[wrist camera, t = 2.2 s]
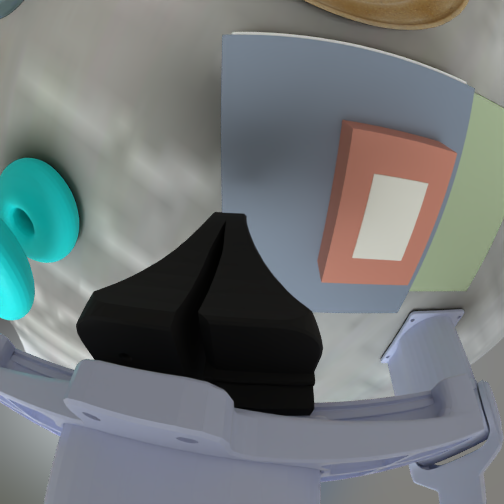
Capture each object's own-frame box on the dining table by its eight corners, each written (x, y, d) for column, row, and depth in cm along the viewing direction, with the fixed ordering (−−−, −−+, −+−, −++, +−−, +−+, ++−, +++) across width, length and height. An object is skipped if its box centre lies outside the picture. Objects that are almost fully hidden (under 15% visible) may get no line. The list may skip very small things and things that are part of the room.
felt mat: (464, 288, 23) (466, 291, 23) (393, 287, 23) (394, 290, 23) (528, 124, 12) (531, 126, 12) (455, 84, 12) (458, 85, 12)
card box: (398, 265, 18) (408, 286, 16) (317, 260, 18) (321, 283, 16) (438, 141, 12) (458, 153, 11) (342, 119, 12) (353, 128, 11)
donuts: (-64, 254, 11) (-57, 188, 7) (-1, 193, 19) (37, 128, 15) (6, 336, 16) (39, 312, 12) (54, 262, 24) (105, 219, 20)
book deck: (389, 287, 23) (399, 312, 21) (230, 280, 23) (225, 307, 21) (450, 79, 12) (477, 86, 10) (230, 37, 12) (222, 31, 10)
